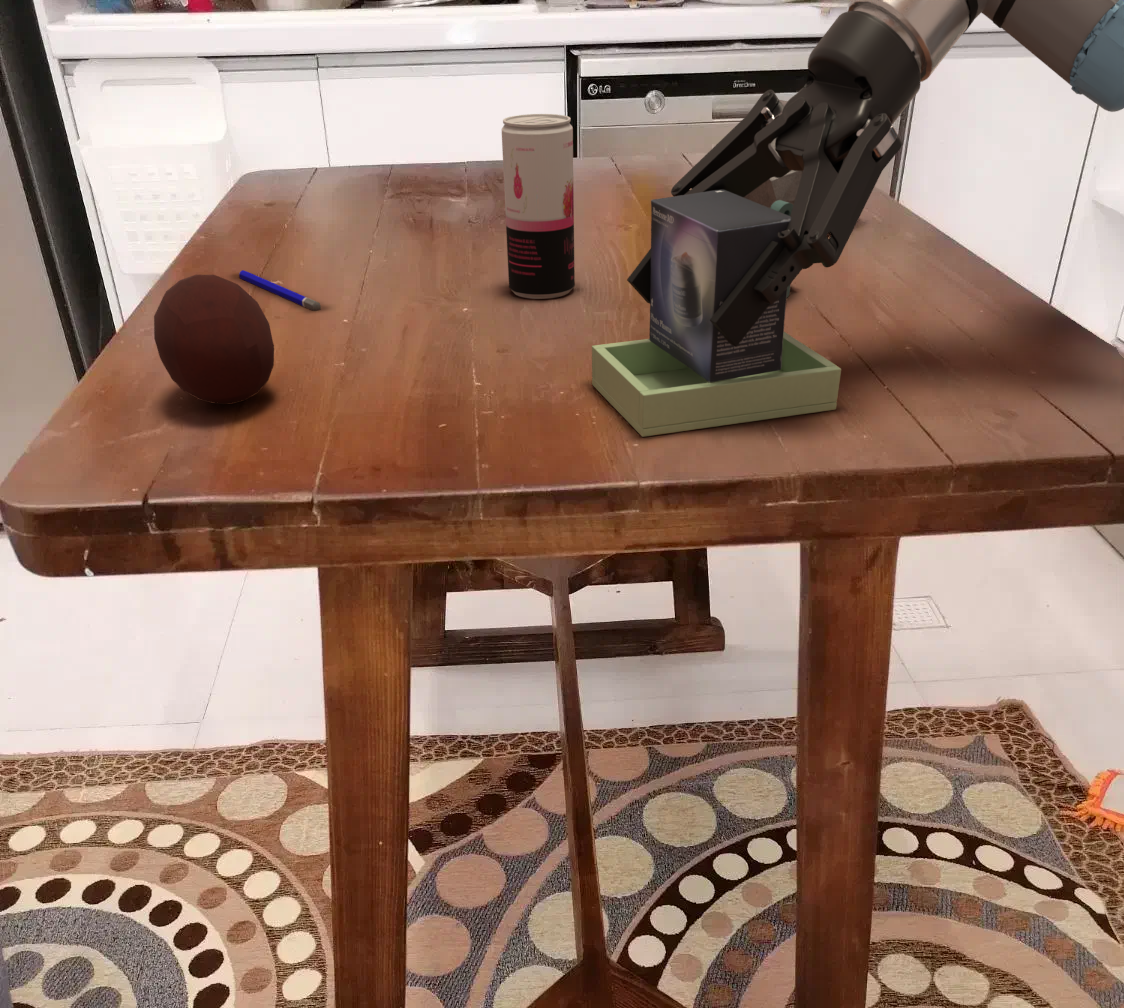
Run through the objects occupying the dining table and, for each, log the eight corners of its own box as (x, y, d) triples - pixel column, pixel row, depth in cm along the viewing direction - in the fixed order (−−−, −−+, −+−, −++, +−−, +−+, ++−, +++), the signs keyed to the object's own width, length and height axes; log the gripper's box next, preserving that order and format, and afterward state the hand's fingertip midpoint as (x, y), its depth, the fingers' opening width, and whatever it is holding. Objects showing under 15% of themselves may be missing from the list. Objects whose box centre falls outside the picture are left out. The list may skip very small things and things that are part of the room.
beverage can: (588, 291, 109) (587, 118, 100) (536, 304, 106) (530, 127, 97) (547, 278, 113) (543, 111, 104) (496, 290, 110) (486, 119, 101)
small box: (642, 342, 86) (645, 196, 80) (715, 330, 88) (724, 187, 82) (705, 384, 79) (714, 226, 72) (784, 371, 80) (800, 215, 74)
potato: (176, 433, 82) (144, 304, 76) (166, 381, 91) (136, 262, 85) (293, 416, 84) (270, 289, 78) (271, 367, 93) (250, 250, 87)
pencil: (322, 311, 106) (320, 300, 106) (314, 313, 106) (312, 303, 105) (244, 277, 117) (242, 267, 116) (236, 279, 116) (234, 269, 116)
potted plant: (719, 185, 131) (830, 137, 132) (766, 274, 130) (879, 225, 131) (734, 112, 120) (857, 60, 120) (787, 209, 118) (911, 156, 119)
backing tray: (836, 409, 83) (841, 368, 81) (642, 437, 79) (643, 394, 77) (769, 361, 91) (772, 323, 90) (591, 384, 88) (591, 345, 86)
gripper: (1027, 111, 71) (800, 391, 75) (806, 72, 87) (629, 303, 91) (985, 16, 65) (743, 323, 69) (758, -7, 82) (573, 242, 86)
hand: (679, 312), depth 80 cm, fingers closed on small box, 11 cm apart
